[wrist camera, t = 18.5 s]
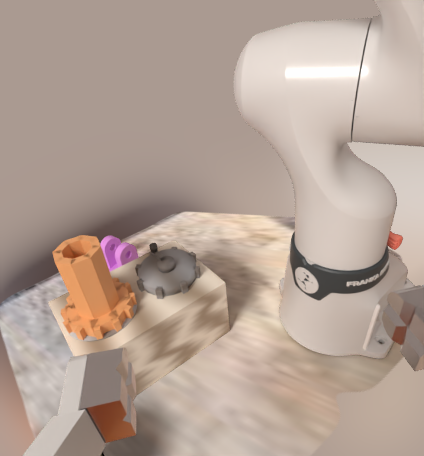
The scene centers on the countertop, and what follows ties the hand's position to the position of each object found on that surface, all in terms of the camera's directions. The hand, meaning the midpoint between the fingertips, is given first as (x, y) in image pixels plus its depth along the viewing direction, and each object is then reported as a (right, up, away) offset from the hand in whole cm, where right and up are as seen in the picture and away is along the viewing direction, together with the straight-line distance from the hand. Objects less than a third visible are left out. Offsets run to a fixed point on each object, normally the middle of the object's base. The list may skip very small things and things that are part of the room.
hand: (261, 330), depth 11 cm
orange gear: (-16, -7, +33) cm, 38 cm away
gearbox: (-11, -14, +42) cm, 45 cm away
